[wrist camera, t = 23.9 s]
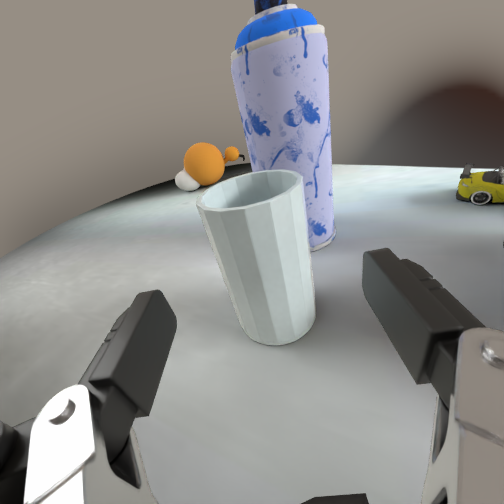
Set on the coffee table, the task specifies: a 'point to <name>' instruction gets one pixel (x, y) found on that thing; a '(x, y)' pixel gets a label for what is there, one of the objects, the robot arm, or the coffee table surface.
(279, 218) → the plastic cup
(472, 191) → the toy car
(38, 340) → the coffee table surface
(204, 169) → the toy
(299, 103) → the aerosol can
